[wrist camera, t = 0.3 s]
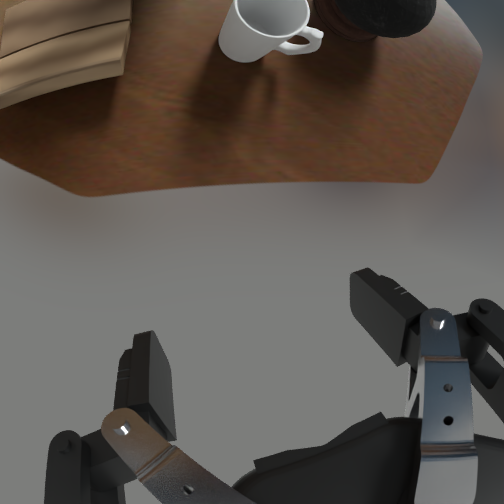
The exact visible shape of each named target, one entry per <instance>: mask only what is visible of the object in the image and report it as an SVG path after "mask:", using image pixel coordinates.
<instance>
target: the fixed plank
mask: <svg viewBox="0 0 504 504" xmlns="http://www.w3.org/2000/svg"><path fill="white" fill-rule="evenodd" d="M132 5H133V0H26V1H24V2H22V3H19V4H17V5H15V6H13V7H10V8H8V9H6V13H5V19H4V25H3V32H2V40H1V50H0V58H5V57H7V56H9V55H12V54H14V53H16V52H19V51H21V50H24V49H26V48H29V47H32V46H34V45H37V44H40V43H43V42H46V41H49V40H52V39H55V38H58V37H61V36H65V35H68V34H72V33H75V32H79V31H83V30H87V29H91V28H95V27H99V26H104V25H108V24H113V23H119V22H124V21H130V23H132Z"/></svg>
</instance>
